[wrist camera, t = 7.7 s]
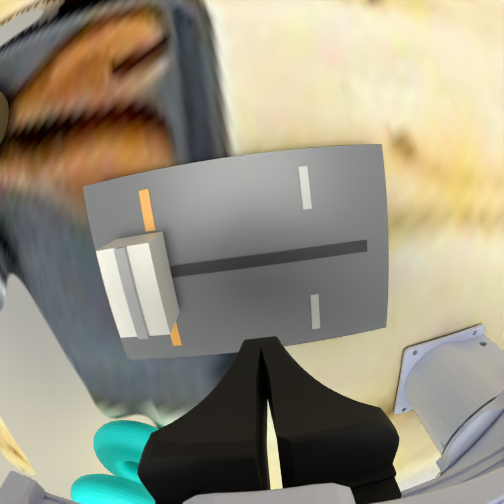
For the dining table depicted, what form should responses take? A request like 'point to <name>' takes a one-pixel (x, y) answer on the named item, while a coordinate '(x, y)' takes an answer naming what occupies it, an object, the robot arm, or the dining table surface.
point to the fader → (139, 285)
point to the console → (259, 245)
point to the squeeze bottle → (3, 115)
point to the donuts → (116, 466)
